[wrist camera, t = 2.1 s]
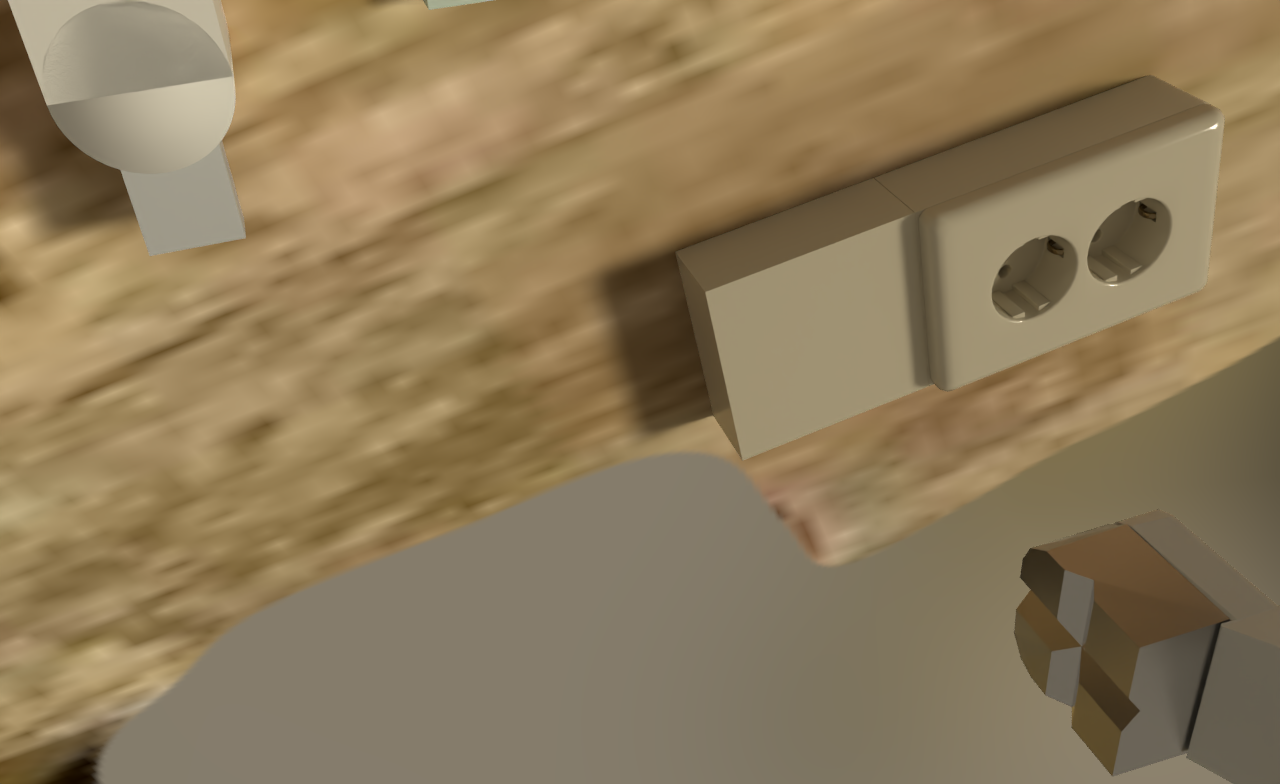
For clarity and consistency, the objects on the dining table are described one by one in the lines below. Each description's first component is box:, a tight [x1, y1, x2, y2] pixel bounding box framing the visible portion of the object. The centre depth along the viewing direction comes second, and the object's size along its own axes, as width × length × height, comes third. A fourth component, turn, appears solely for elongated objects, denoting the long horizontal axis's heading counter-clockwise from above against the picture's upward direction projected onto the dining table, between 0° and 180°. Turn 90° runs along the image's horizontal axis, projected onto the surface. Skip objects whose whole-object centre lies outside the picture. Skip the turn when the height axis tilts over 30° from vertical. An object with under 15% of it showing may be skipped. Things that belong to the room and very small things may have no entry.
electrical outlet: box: [675, 75, 1225, 461], centre depth 39 cm, size 7×4×18 cm
